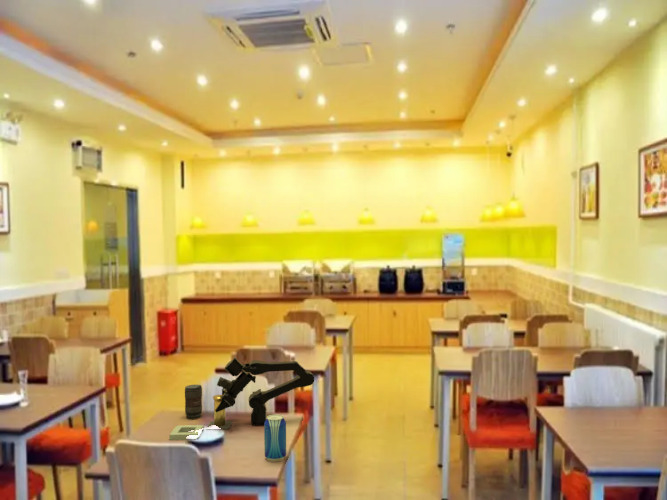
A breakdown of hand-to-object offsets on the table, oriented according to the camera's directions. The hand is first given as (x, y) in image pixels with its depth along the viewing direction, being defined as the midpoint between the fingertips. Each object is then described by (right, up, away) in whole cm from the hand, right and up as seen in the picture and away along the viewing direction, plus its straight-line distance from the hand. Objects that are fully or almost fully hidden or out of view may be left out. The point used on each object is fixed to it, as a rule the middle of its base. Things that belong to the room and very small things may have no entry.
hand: (216, 408), depth 250 cm
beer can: (+31, -8, -38) cm, 50 cm away
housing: (-10, -8, -11) cm, 17 cm away
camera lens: (-14, -8, +14) cm, 21 cm away
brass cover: (+2, -7, 0) cm, 8 cm away
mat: (+1, -8, 0) cm, 8 cm away
